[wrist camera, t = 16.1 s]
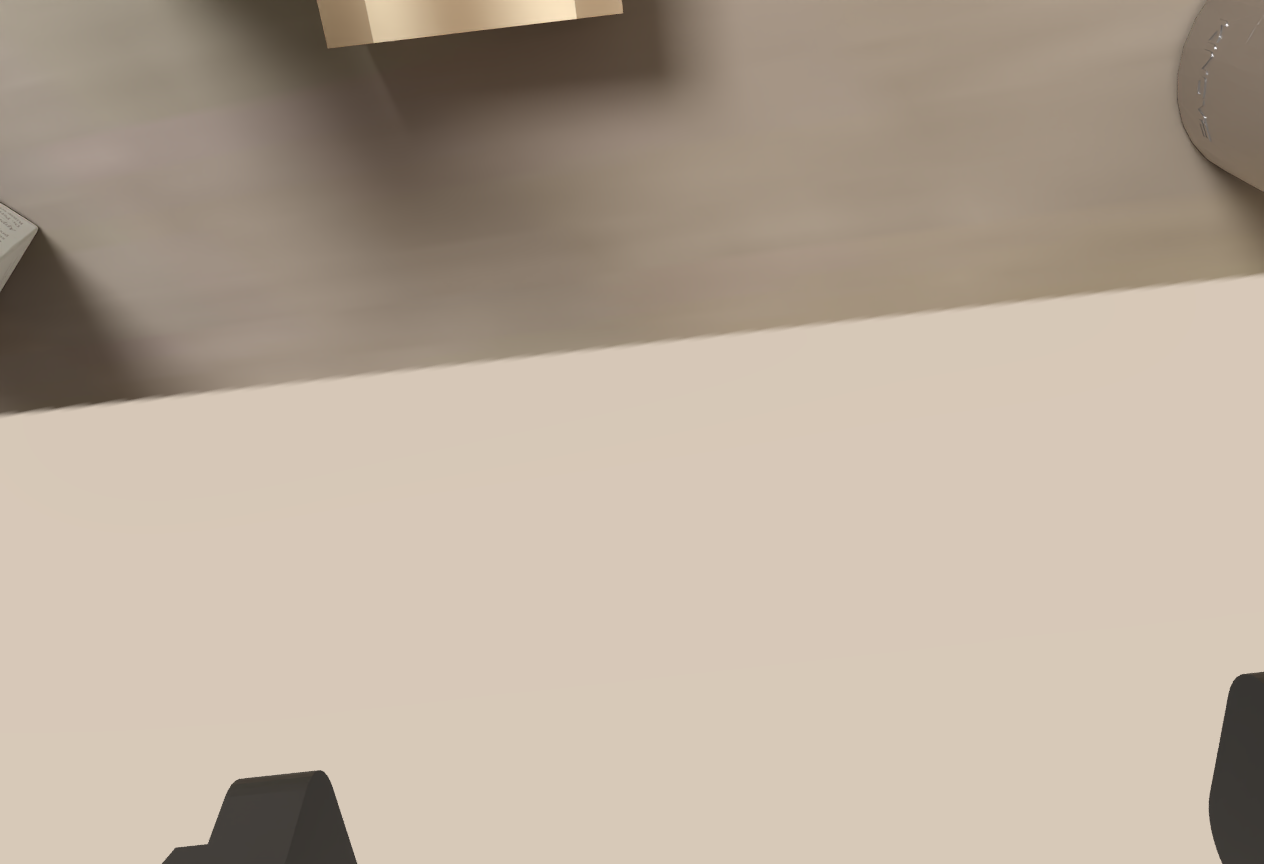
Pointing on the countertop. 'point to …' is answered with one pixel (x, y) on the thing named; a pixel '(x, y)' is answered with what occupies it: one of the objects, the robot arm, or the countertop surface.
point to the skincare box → (13, 240)
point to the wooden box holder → (443, 17)
